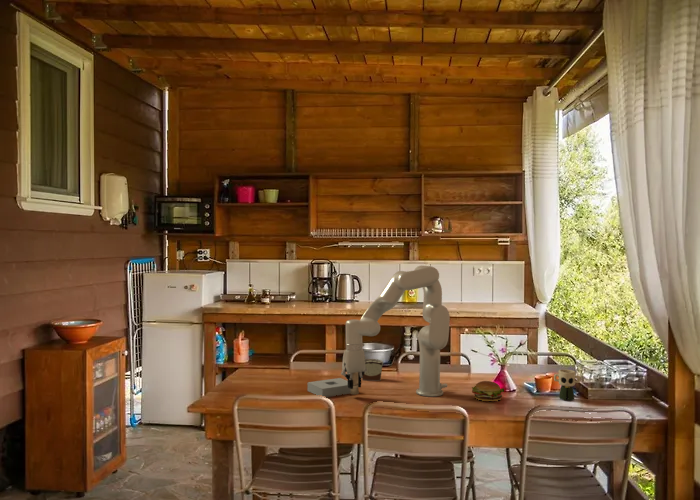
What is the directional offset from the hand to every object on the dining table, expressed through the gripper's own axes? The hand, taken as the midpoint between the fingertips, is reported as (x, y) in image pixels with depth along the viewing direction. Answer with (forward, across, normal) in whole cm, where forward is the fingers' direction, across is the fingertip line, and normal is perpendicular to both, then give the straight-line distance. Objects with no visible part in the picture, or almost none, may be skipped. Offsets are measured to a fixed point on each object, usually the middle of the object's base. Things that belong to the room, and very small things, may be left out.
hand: (354, 387), depth 248 cm
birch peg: (+3, 0, 0) cm, 3 cm away
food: (+6, -50, +33) cm, 60 cm away
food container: (+5, -27, -25) cm, 38 cm away
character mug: (+7, -81, +52) cm, 97 cm away
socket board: (+5, +4, -14) cm, 15 cm away
